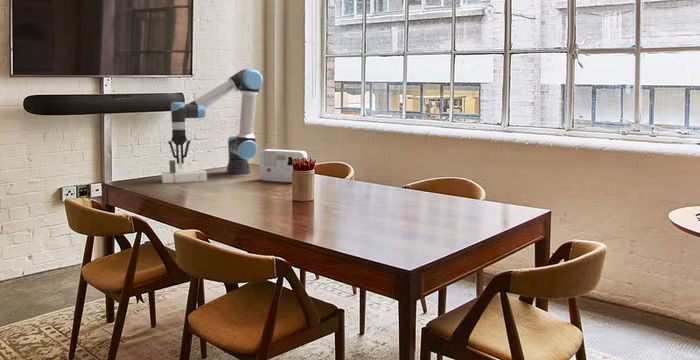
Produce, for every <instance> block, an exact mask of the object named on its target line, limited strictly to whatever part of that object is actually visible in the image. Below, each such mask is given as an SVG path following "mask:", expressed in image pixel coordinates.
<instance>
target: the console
mask: <svg viewBox="0 0 700 360" xmlns="http://www.w3.org/2000/svg"><path fill="white" fill-rule="evenodd" d="M161 182H162V184H174V183H191V182H193V183H194V182H195V183H196V182H208V172H207V170H206V169H195V170H191V169H190V170H176V172H174V173H170V171H161Z"/></svg>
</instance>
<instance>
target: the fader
mask: <svg viewBox="0 0 700 360" xmlns="http://www.w3.org/2000/svg"><path fill="white" fill-rule="evenodd" d="M168 163H169V172H170V173H174V172H176V171H177V169H176V160H171V159H169V162H168Z"/></svg>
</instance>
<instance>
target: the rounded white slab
mask: <svg viewBox="0 0 700 360" xmlns="http://www.w3.org/2000/svg"><path fill="white" fill-rule="evenodd" d="M258 157H259V158H258V160H259V178H260V180H262V181H263V182H265V181H266V182H280V183H281V182H282V183H293V182H292V170H293V165H292V160H293V159H296V158H300V159H301V158H306V159H307V160H308V153H307V152H306V151H304V150H293V149H292V150H290V149H269V148H267V149H262V150H260V152H259V156H258Z"/></svg>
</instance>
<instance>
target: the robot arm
mask: <svg viewBox="0 0 700 360" xmlns="http://www.w3.org/2000/svg"><path fill="white" fill-rule="evenodd" d="M263 81H264V79H263V75H262V74H261V73H260V72H259V70H256V69H253V68H250V69H247V68H246V69H241V70H239V71H238V72H236V73H235V74H233V75H232V76H230V77H228V79H227V81H225V82H223V83H221V84H220V85H218V86H216V87H215V88H213V89H211V90H209V91H208V92H206V93H204V94H203V95H201V96H199V97H197V98H195V99H194V100H193V101H190V102H189V103H185V102H184V101H183V102H182V101H179V102H178V101H173V102H171V104H170V115H171V117H170V118H171V128H172V130H171V140H168V141H167V143H168V145H169V146H170V149H171V154H172V157H173V158H174V159H176V164H177V165H178V169H179V170H178V171H183V166H182V165H183V164H184V160H185V159H184V158H187V155H188V151H189V147H190V144H191V140H189V139H188V138H187V136H186V119H203V118H206V114H207V113H206V109H207V108H208V107H210V106H212V105H214V104H216V103H217V102H218V101H220V100H222V99H224V98H225V97H227V96H229V95H231V94H232V93H237V92H240V93H241V106H240V107H241V108H240V119H239V133H238V134H237V135H236V136H229V137H228V138H227V141H228V142H227V144H228V145H227V146H228V147H227V148H228V149H227V150H228V163H227V167H226V170H225V171H226V174H229V175H245V174H250V173H251V167H250V163H249V160H251V159H253V158H254V157H255V156H256V155H257V152H258V146H257V144H256V139H257V138H256V136H255V135H254V131H255V119H256V107H257V106H256V105H257V95H259V94H260V87H262V85H263ZM173 143H174V144H175V149H174V147H173ZM184 144H186V145H185V149H184ZM179 146H180V148H179ZM179 149H180V151H179ZM179 152H180V153H179Z"/></svg>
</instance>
